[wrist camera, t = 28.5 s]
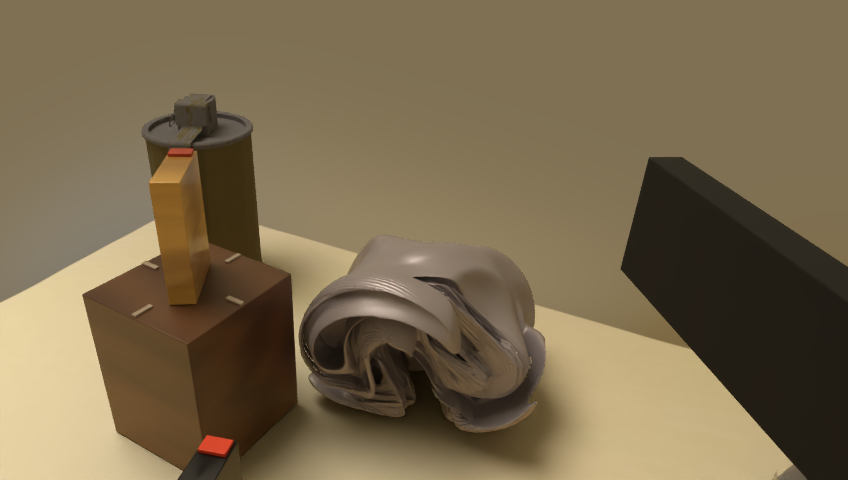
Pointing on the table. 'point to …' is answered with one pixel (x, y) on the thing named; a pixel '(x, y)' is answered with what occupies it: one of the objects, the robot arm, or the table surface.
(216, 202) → the canister
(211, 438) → the bar
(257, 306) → the walnut box
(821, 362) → the robot arm
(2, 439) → the table surface
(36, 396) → the table surface
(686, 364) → the table surface
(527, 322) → the grey shiny folded piece
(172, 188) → the wooden red-tipped block
